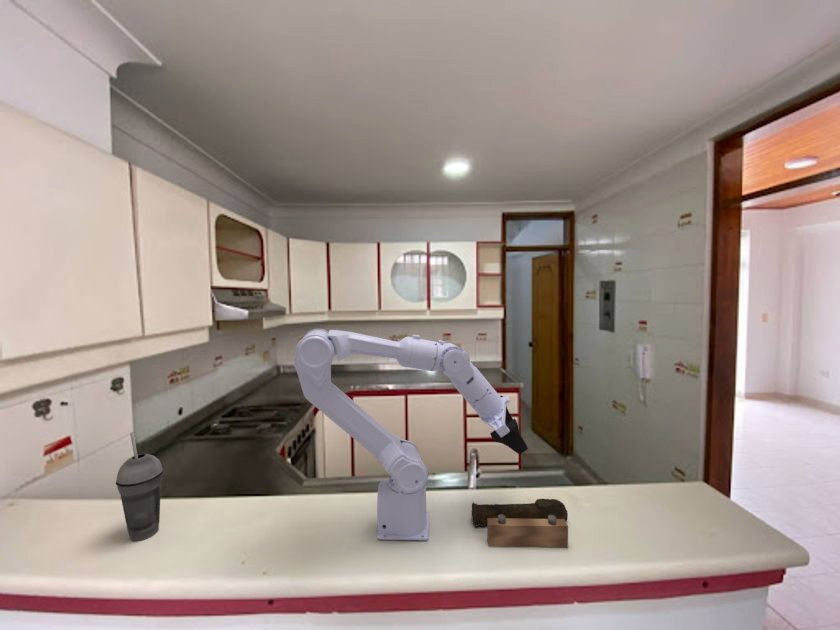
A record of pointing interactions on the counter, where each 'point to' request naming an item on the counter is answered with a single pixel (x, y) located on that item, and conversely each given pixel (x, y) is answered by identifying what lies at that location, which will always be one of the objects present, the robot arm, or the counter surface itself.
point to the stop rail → (527, 532)
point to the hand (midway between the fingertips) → (517, 439)
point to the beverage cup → (140, 493)
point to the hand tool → (519, 511)
